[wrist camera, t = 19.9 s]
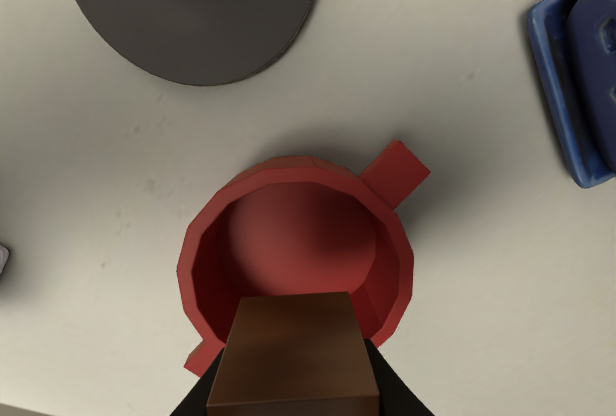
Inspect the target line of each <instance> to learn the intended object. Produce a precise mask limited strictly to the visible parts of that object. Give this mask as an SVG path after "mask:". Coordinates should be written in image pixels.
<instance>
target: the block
mask: <svg viewBox="0 0 616 416" xmlns="http://www.w3.org/2000/svg"><path fill="white" fill-rule="evenodd" d="M379 407H380V393H379V390H378V387H377V383H376V380H375V377H374V373H373V370H372V367H371V364H370V360H369V357H368V354H367V351H366V347H365V344H364V341H363V338H362V334H361V331H360V328H359V324H358V321H357V318H356V315H355V311H354V308H353V305H352V302H351V298H350V295H349V292H348V291H343V292H326V293H309V294H292V295H276V296H259V297H242V298H241V300H240V303H239V306H238V309H237V312H236V315H235V318H234V321H233V324H232V328H231V331H230V334H229V337H228V340H227V343H226V346H225V349H224V352H223V355H222V358H221V361H220V364H219V367H218V370H217V374H216V377H215V380H214V383H213V386H212V389H211V392H210V395H209V398H208V401H207V404H206V409H207V414H208V416H379Z"/></svg>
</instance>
